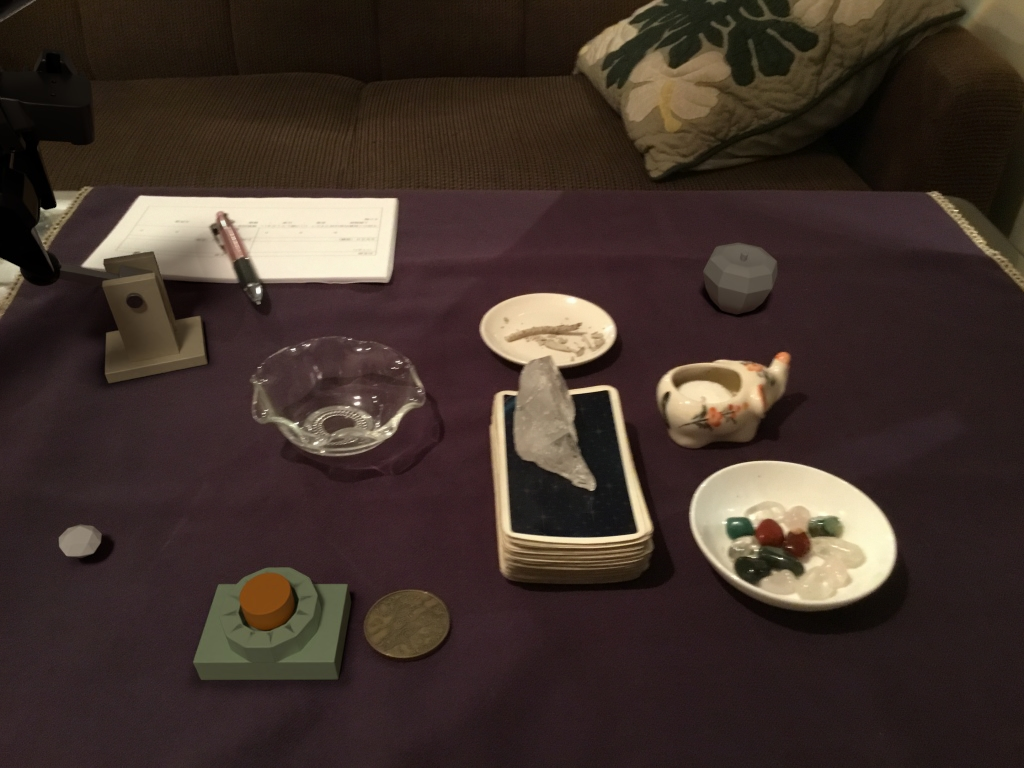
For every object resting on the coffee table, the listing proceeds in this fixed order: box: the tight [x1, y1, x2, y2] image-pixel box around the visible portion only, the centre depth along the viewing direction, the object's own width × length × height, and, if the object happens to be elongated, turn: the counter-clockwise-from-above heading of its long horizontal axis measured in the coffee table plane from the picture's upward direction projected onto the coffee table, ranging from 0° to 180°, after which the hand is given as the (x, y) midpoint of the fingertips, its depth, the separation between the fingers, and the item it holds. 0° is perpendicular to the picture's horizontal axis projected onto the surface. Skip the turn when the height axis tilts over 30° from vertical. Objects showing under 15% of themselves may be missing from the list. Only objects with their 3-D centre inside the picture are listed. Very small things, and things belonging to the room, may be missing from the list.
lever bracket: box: [101, 250, 209, 384], centre depth 75 cm, size 9×7×10 cm
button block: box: [192, 566, 352, 681], centre depth 53 cm, size 9×6×4 cm
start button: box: [239, 573, 295, 630], centre depth 51 cm, size 3×3×2 cm
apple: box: [702, 242, 778, 315], centre depth 84 cm, size 8×8×7 cm
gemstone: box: [58, 523, 102, 559], centre depth 58 cm, size 3×3×3 cm
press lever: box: [19, 250, 153, 287], centre depth 71 cm, size 10×3×3 cm, turn 110°
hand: (49, 239), depth 65 cm, fingers open, 9 cm apart
